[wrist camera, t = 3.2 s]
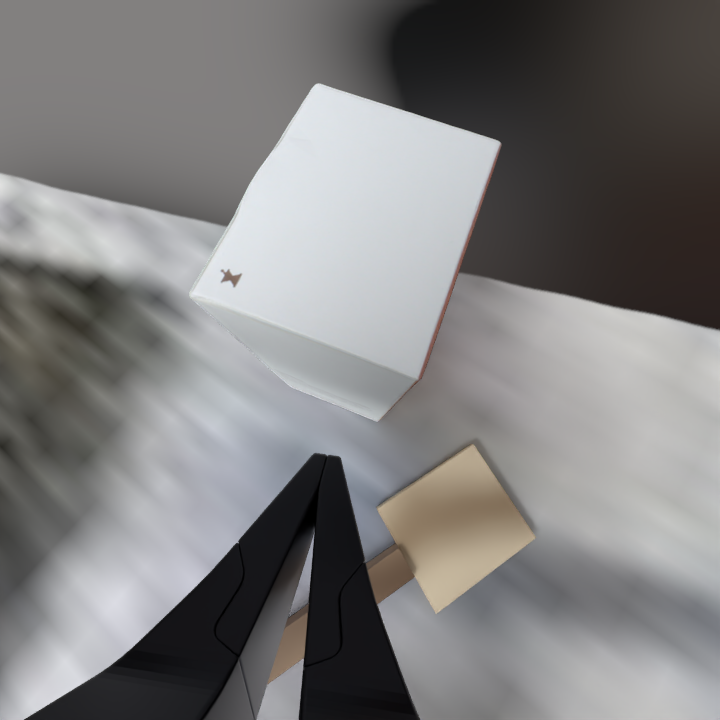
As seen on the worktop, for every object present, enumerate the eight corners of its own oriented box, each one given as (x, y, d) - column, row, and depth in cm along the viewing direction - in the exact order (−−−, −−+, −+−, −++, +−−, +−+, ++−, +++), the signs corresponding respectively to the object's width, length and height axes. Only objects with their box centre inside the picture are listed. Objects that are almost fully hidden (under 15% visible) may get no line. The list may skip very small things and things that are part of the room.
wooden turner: (530, 534, 18) (540, 539, 17) (288, 718, 16) (283, 736, 15) (469, 444, 19) (476, 444, 18) (237, 600, 17) (230, 609, 16)
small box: (379, 423, 20) (421, 389, 7) (288, 387, 20) (175, 295, 7) (419, 314, 22) (508, 134, 9) (335, 284, 22) (309, 74, 10)
